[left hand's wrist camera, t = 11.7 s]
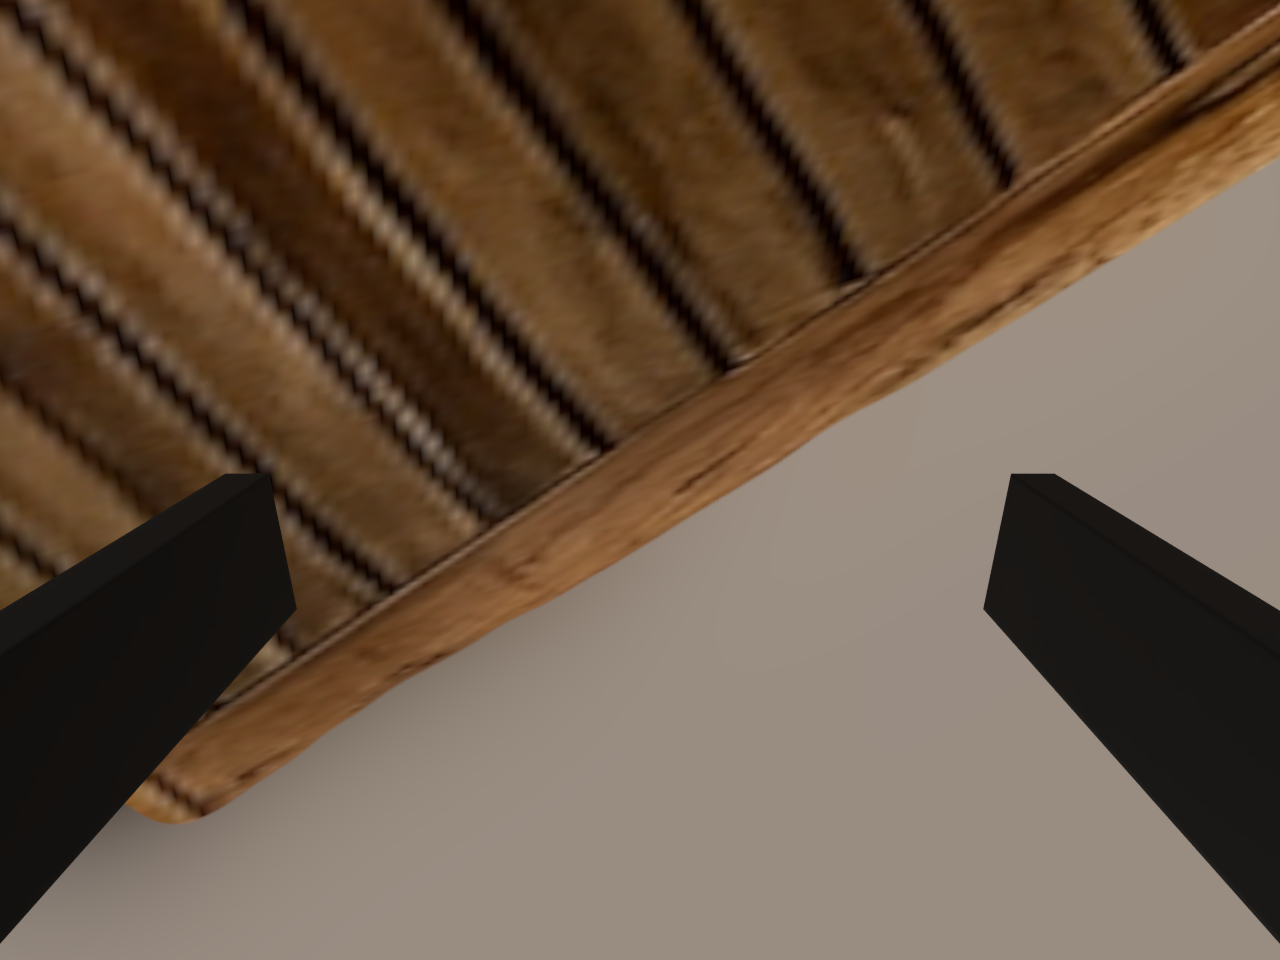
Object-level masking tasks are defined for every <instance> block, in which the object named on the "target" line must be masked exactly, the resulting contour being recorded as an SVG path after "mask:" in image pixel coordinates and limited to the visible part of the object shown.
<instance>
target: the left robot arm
mask: <svg viewBox="0 0 1280 960" xmlns="http://www.w3.org/2000/svg"><path fill="white" fill-rule="evenodd" d="M296 609H297V608H296V603H295V598H294V594H293V589H292V584H291V579H290V574H289V569H288V564H287V560H286V555H285V550H284V545H283V540H282V535H281V530H280V526H279V521H278V516H277V511H276V506H275V501H274V496H273V492H272V487H271V482H270V477H269V474H224V475H223V476H221V477H219V478H218V479H216V480H214V481H213V482H211V483H209V484H208V485H206V486H204V487H203V488H201V489H200V490H198V491H196V492H195V493H193V494H191V495H190V496H188V497H186V498H185V499H183V500H181V501H180V502H178V503H177V504H175V505H173V506H172V507H170V508H168V509H167V510H165V511H163V512H162V513H160V514H158V515H157V516H155V517H153V518H152V519H150V520H149V521H147V522H145V523H144V524H142V525H140V526H139V527H137V528H135V529H134V530H132V531H130V532H129V533H127V534H126V535H124V536H122V537H121V538H119V539H117V540H116V541H114V542H112V543H111V544H109V545H107V546H106V547H104V548H103V549H101V550H99V551H98V552H96V553H94V554H93V555H91V556H89V557H88V558H86V559H84V560H83V561H81V562H79V563H78V564H76V565H75V566H73V567H71V568H70V569H68V570H66V571H65V572H63V573H61V574H60V575H58V576H56V577H55V578H53V579H52V580H50V581H48V582H47V583H45V584H43V585H42V586H40V587H38V588H37V589H35V590H33V591H32V592H30V593H28V594H27V595H25V596H24V597H22V598H20V599H19V600H17V601H15V602H14V603H12V604H10V605H9V606H7V607H5V608H4V609H2V610H1V611H0V943H1V942H2V941H3V940H4V939H5V938H6V936H7V935H8V934H9V933H10V932H11V931H12V930H13V929H14V927H15V926H16V925H17V924H18V923H19V922H20V921H21V920H22V918H23V917H24V916H25V915H26V914H27V913H28V912H29V910H30V909H31V908H32V907H33V906H34V905H35V904H36V903H37V901H38V900H39V899H40V898H41V897H42V896H43V895H44V894H45V892H46V891H47V890H48V889H49V888H50V887H51V886H52V885H53V883H54V882H55V881H56V880H57V879H58V878H59V877H60V875H61V874H62V873H63V872H64V871H65V870H66V869H67V868H68V866H69V865H70V864H71V863H72V862H73V861H74V860H75V859H76V857H77V856H78V855H79V854H80V853H81V852H82V851H83V849H84V848H85V847H86V846H87V845H88V844H89V843H90V842H91V841H92V839H93V838H94V837H95V836H96V835H97V834H98V833H99V832H100V830H101V829H102V828H103V827H104V826H105V825H106V824H107V822H108V821H109V820H110V819H111V818H112V817H113V816H114V815H115V813H116V812H117V811H118V810H119V809H120V808H121V807H122V806H123V804H124V803H125V802H126V801H127V800H128V799H129V798H130V797H131V795H132V794H133V793H134V792H135V791H136V790H137V789H138V788H139V786H140V785H141V784H142V783H143V782H144V781H145V780H146V779H147V777H148V776H149V775H150V774H151V773H152V772H153V771H154V769H155V768H156V767H157V766H158V765H159V764H160V763H161V762H162V760H163V759H164V758H165V757H166V756H167V755H168V754H169V753H170V751H171V750H172V749H173V748H174V747H175V746H176V745H177V744H178V742H179V741H180V740H181V739H182V738H183V737H184V736H185V735H186V733H187V732H188V731H189V730H190V729H191V728H192V727H193V725H194V724H195V723H196V722H197V721H198V720H199V719H200V718H201V716H202V715H203V714H204V713H205V712H206V711H207V710H208V709H209V707H210V706H211V705H212V704H213V703H214V702H215V701H216V700H217V698H218V697H219V696H220V695H221V694H222V693H223V692H224V691H225V689H226V688H227V687H228V686H229V685H230V684H231V683H232V681H233V680H234V679H235V678H236V677H237V676H238V675H239V674H240V672H241V671H242V670H243V669H244V668H245V667H246V666H247V665H248V663H249V662H250V661H251V660H252V659H253V658H254V657H255V656H256V654H257V653H258V652H259V651H260V650H261V649H262V648H263V646H264V645H265V644H266V643H267V642H268V641H269V640H270V639H271V637H272V636H273V635H274V634H275V633H276V632H277V631H278V630H279V628H280V627H281V626H282V625H283V624H284V623H285V622H286V621H287V619H288V618H289V617H290V616H291V615H292V614H293V613H294V612H295V610H296ZM983 609H984V610H985V612H986V613H987V614H988V615H989V616H990V617H991V618H992V619H993V621H994V622H995V623H996V624H997V625H998V626H999V627H1000V628H1001V630H1002V631H1003V632H1004V633H1005V634H1006V635H1007V636H1008V637H1009V639H1010V640H1011V641H1012V642H1013V643H1014V644H1015V645H1016V646H1017V648H1018V649H1019V650H1020V651H1021V652H1022V653H1023V654H1024V656H1025V657H1026V658H1027V659H1028V660H1029V661H1030V662H1031V663H1032V664H1033V666H1034V667H1035V668H1036V669H1037V670H1038V671H1039V672H1040V674H1041V675H1042V676H1043V677H1044V678H1045V679H1046V680H1047V681H1048V683H1049V684H1050V685H1051V686H1052V687H1053V688H1054V689H1055V691H1056V692H1057V693H1058V694H1059V695H1060V696H1061V697H1062V698H1063V700H1064V701H1065V702H1066V703H1067V704H1068V705H1069V706H1070V707H1071V709H1072V710H1073V711H1074V712H1075V713H1076V714H1077V715H1078V716H1079V718H1080V719H1081V720H1082V721H1083V722H1084V723H1085V724H1086V725H1087V727H1088V728H1089V729H1090V730H1091V731H1092V732H1093V733H1094V734H1095V736H1096V737H1097V738H1098V739H1099V740H1100V741H1101V742H1102V744H1103V745H1104V746H1105V747H1106V748H1107V749H1108V750H1109V751H1110V753H1111V754H1112V755H1113V756H1114V757H1115V758H1116V759H1117V760H1118V762H1119V763H1120V764H1121V765H1122V766H1123V767H1124V768H1125V769H1126V771H1127V772H1128V773H1129V774H1130V775H1131V776H1132V777H1133V779H1134V780H1135V781H1136V782H1137V783H1138V784H1139V785H1140V786H1141V788H1142V789H1143V790H1144V791H1145V792H1146V793H1147V794H1148V795H1149V797H1150V798H1151V799H1152V800H1153V801H1154V802H1155V803H1156V804H1157V806H1158V807H1159V808H1160V809H1161V810H1162V811H1163V812H1164V813H1165V815H1166V816H1167V817H1168V818H1169V819H1170V820H1171V821H1172V822H1173V824H1174V825H1175V826H1176V827H1177V828H1178V829H1179V830H1180V832H1181V833H1182V834H1183V835H1184V836H1185V837H1186V838H1187V839H1188V841H1189V842H1190V843H1191V844H1192V845H1193V846H1194V847H1195V848H1196V850H1197V851H1198V852H1199V853H1200V854H1201V855H1202V856H1203V857H1204V859H1205V860H1206V861H1207V862H1208V863H1209V864H1210V865H1211V866H1212V868H1213V869H1214V870H1215V871H1216V872H1217V873H1218V874H1219V876H1220V877H1221V878H1222V879H1223V880H1224V881H1225V882H1226V883H1227V885H1228V886H1229V887H1230V888H1231V889H1232V890H1233V891H1234V892H1235V894H1236V895H1237V896H1238V897H1239V898H1240V899H1241V900H1242V901H1243V903H1244V904H1245V905H1246V906H1247V907H1248V908H1249V909H1250V910H1251V912H1252V913H1253V914H1254V915H1255V916H1256V917H1257V918H1258V920H1259V921H1260V922H1261V923H1262V924H1263V925H1264V926H1265V927H1266V929H1267V930H1268V931H1269V932H1270V933H1271V934H1272V935H1273V936H1274V938H1275V939H1276V940H1277V941H1278V942H1279V943H1280V611H1279V610H1278V609H1276V608H1275V607H1273V606H1271V605H1270V604H1268V603H1266V602H1265V601H1263V600H1261V599H1260V598H1258V597H1256V596H1255V595H1253V594H1251V593H1250V592H1248V591H1247V590H1245V589H1243V588H1242V587H1240V586H1238V585H1237V584H1235V583H1233V582H1232V581H1230V580H1228V579H1227V578H1225V577H1224V576H1222V575H1220V574H1219V573H1217V572H1215V571H1214V570H1212V569H1210V568H1209V567H1207V566H1205V565H1204V564H1202V563H1200V562H1199V561H1197V560H1196V559H1194V558H1192V557H1191V556H1189V555H1187V554H1186V553H1184V552H1182V551H1181V550H1179V549H1177V548H1176V547H1174V546H1173V545H1171V544H1169V543H1168V542H1166V541H1164V540H1163V539H1161V538H1159V537H1158V536H1156V535H1154V534H1153V533H1151V532H1150V531H1148V530H1146V529H1145V528H1143V527H1141V526H1140V525H1138V524H1136V523H1135V522H1133V521H1131V520H1130V519H1128V518H1126V517H1125V516H1123V515H1121V514H1120V513H1118V512H1117V511H1115V510H1113V509H1112V508H1110V507H1108V506H1107V505H1105V504H1103V503H1102V502H1100V501H1098V500H1097V499H1095V498H1094V497H1092V496H1090V495H1089V494H1087V493H1085V492H1084V491H1082V490H1080V489H1079V488H1077V487H1075V486H1074V485H1072V484H1071V483H1069V482H1067V481H1066V480H1064V479H1062V478H1061V477H1059V476H1057V475H1056V474H1011V477H1010V482H1009V487H1008V492H1007V496H1006V501H1005V506H1004V511H1003V516H1002V521H1001V526H1000V531H999V535H998V540H997V545H996V550H995V555H994V560H993V565H992V569H991V574H990V579H989V584H988V589H987V594H986V599H985V603H984V608H983Z"/></svg>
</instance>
